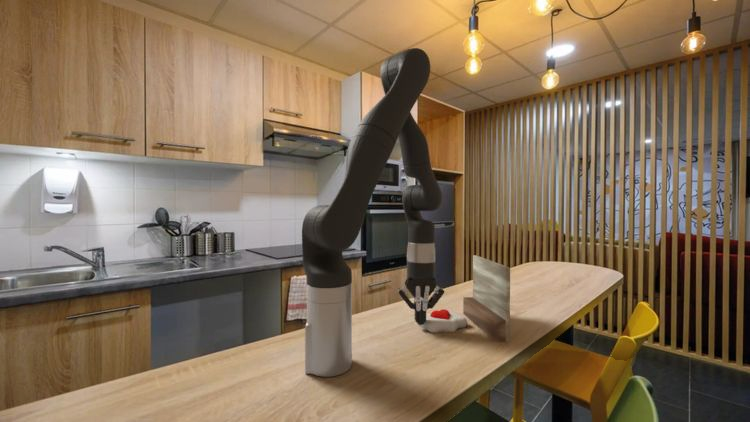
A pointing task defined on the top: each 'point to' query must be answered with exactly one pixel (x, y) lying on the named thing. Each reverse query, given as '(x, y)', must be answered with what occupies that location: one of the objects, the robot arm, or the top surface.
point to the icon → (443, 321)
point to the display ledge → (490, 299)
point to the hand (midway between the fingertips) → (420, 323)
